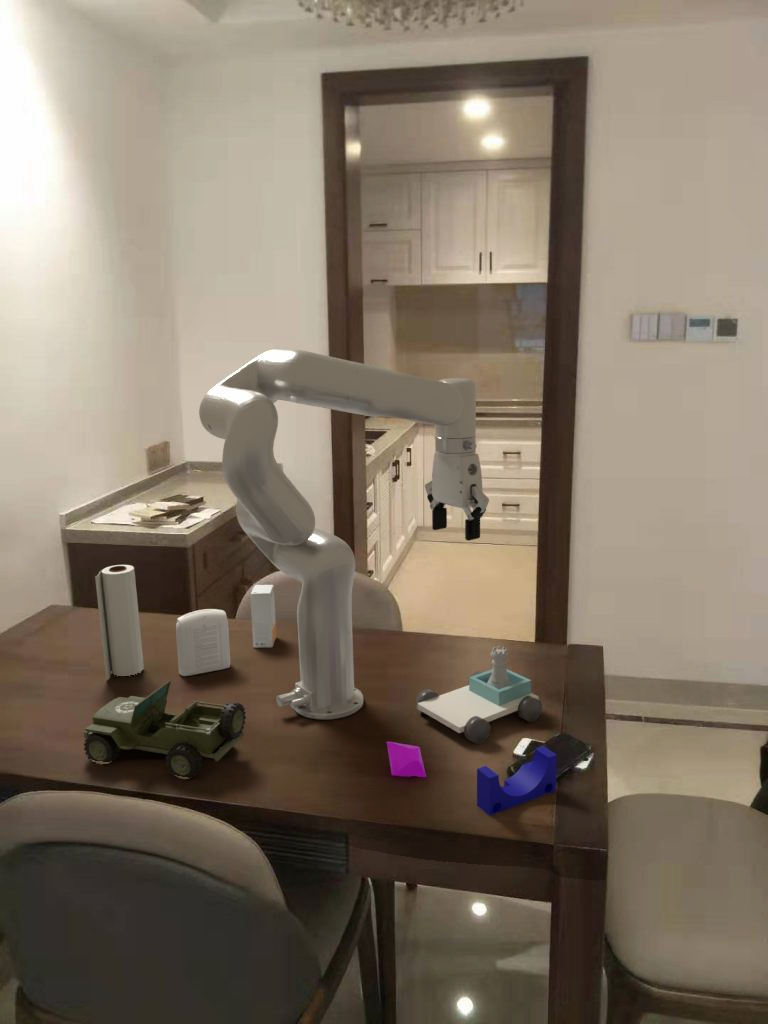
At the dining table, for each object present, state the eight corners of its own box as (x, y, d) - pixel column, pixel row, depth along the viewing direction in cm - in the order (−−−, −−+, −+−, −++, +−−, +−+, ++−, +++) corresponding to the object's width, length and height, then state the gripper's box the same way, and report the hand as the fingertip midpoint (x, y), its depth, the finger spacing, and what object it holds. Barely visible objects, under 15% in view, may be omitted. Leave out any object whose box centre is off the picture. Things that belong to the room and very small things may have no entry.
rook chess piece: (511, 698, 151) (512, 654, 149) (485, 696, 152) (485, 653, 150) (512, 687, 155) (513, 644, 153) (487, 685, 156) (487, 643, 154)
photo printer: (227, 660, 177) (223, 602, 174) (233, 668, 173) (229, 609, 170) (176, 671, 173) (171, 612, 170) (182, 679, 169) (176, 618, 166)
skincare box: (273, 647, 183) (270, 593, 180) (252, 648, 183) (249, 593, 180) (277, 636, 189) (274, 584, 186) (257, 637, 189) (254, 584, 186)
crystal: (394, 784, 131) (393, 756, 130) (385, 766, 136) (384, 739, 135) (427, 778, 132) (427, 751, 131) (417, 761, 137) (416, 734, 136)
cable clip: (536, 777, 132) (536, 741, 131) (555, 791, 128) (556, 754, 127) (470, 801, 126) (470, 764, 125) (489, 816, 123) (489, 778, 121)
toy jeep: (124, 728, 151) (117, 669, 148) (254, 749, 143) (250, 686, 140) (78, 763, 139) (71, 699, 137) (217, 788, 131) (212, 721, 129)
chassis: (466, 748, 140) (466, 717, 139) (411, 715, 152) (410, 686, 151) (546, 716, 151) (546, 686, 149) (488, 687, 162) (488, 659, 161)
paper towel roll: (142, 663, 177) (133, 562, 171) (144, 675, 171) (134, 570, 166) (105, 668, 174) (94, 566, 169) (106, 681, 169) (94, 575, 164)
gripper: (502, 448, 159) (501, 539, 163) (441, 437, 172) (442, 522, 177) (471, 453, 155) (470, 547, 159) (411, 442, 168) (412, 528, 172)
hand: (455, 533), depth 168 cm, fingers open, 9 cm apart
